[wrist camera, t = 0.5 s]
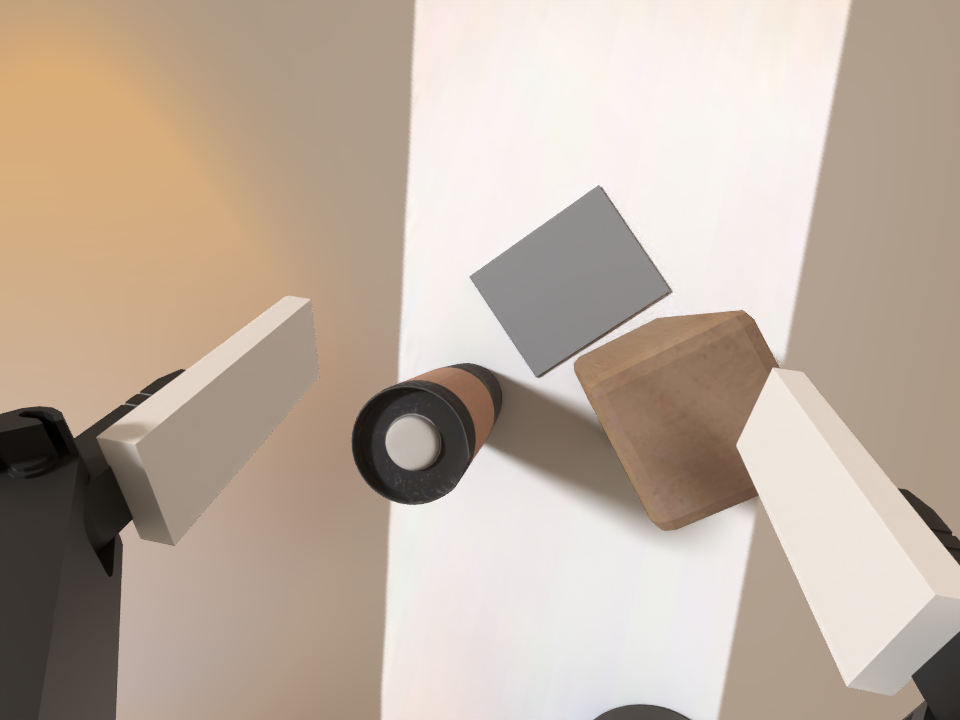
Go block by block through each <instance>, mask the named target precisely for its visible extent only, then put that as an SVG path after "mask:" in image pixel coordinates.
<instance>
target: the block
mask: <svg viewBox="0 0 960 720" xmlns="http://www.w3.org/2000/svg"><path fill="white" fill-rule="evenodd" d="M772 368H779V366H778V364H777V362H776V360H775V359H774V357H773V355H772V353H771V351H770V349H769V347H768V345H767V343H766V341H765V339H764V338H763V336H762V334H761V332H760V330H759V328H758V326H757V324H756V322H755V320H754V319H753V318H752V317H751V316H749V315H748V314H747V313H746V312H744V311H743V310H740V311H729V312H718V313H707V314H696V315H686V316H675V317H664V318H657V319H655V320H653V321H651V322H649V323H647V324H645V325H643V326H641V327H639V328H637V329H635V330H633V331H631V332H629V333H627V334H625V335H623V336H621V337H619V338H617V339H615V340H613V341H611V342H609V343H607V344H605V345H603V346H601V347H599V348H597V349H595V350H593V351H591V352H589V353H587V354H585V355H583V356H581V357H579V358H578V359H577V360H576V361H575V363H574V371H575V373H576V375H577V377H578V379H579V381H580V383H581V385H582V388H583V390H584V392H585V394H586V396H587V398H588V400H589V402H590V404H591V406H592V407H593V409H594V411H595V413H596V415H597V417H598V419H599V421H600V423H601V425H602V427H603V429H604V431H605V432H606V434H607V436H608V438H609V440H610V442H611V444H612V446H613V448H614V450H615V452H616V454H617V456H618V458H619V459H620V461H621V463H622V465H623V467H624V469H625V471H626V473H627V475H628V477H629V479H630V481H631V483H632V485H633V486H634V488H635V490H636V492H637V494H638V496H639V498H640V500H641V502H642V504H643V506H644V508H645V510H646V511H647V513H648V515H649V517H650V519H651V521H652V522H653V523H655V524H656V525H657V526H658V527H659V528H660V529H662V530H664V531H668V530H677V529H679V528H682V527H684V526H686V525H689V524H691V523H694V522H696V521H698V520H701V519H703V518H706V517H708V516H710V515H713V514H715V513H718V512H720V511H722V510H725V509H727V508H730V507H732V506H734V505H737V504H739V503H742V502H744V501H746V500H749V499H751V498H754V497H756V496H758V495H759V494H758V492H757V490H756V488H755V486H754V483H753V481H752V479H751V477H750V475H749V473H748V470H747V468H746V466H745V464H744V462H743V459H742V457H741V455H740V453H739V451H738V449H737V446H736V444H737V442H738V440H739V438H740V436H741V434H742V432H743V429H744V427H745V425H746V423H747V421H748V419H749V417H750V415H751V413H752V410H753V408H754V406H755V404H756V402H757V400H758V398H759V396H760V394H761V391H762V389H763V387H764V385H765V383H766V381H767V379H768V377H769V375H770V372H771V370H772Z"/></svg>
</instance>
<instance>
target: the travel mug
mask: <svg viewBox="0 0 960 720" xmlns="http://www.w3.org/2000/svg"><path fill="white" fill-rule="evenodd" d="M501 404H502V393H501V389H500V386H499V383H498V381H497V380H496V378H495V377H494V376H493V375H492V374H491V373H490V372H489V371H488V370H487V369H485V368H483V367H481V366H479V365H476V364H470V363H463V364H456V365H452V366H447V367H443V368H439V369H435V370H432V371H430V372H427V373H425V374H422V375H419V376H417V377H414V378H412V379H409V380H407V381H404V382H402V383H399V384H396V385H394V386H391V387H389V388H387V389H384V390H382V391H381V392H379V393H378V394H376V395H375V396H373V397H372V398H371V399H370V400H369V401H368V402H367V403H366V404H365V405H364V407H363V408H362V410H361V411H360V412H359V414H358V417H357V418H356V421H355V424H354V427H353V432H352V452H353V457H354V461H355V464H356V466H357V468H358V470H359V472H360V474H361V476H362V477H363V478H364V480H365V481H366V482H367V484H368V485H369V486H370V487H371V488H372V489H373V490H375V491H376V492H377V493H378V494H380V495H382V496H383V497H385V498H387V499H389V500H391V501H394V502H397V503H402V504H409V505H417V504H424V503H429V502H432V501H434V500H437V499H439V498H441V497H443V496H445V495H446V494H448V493H449V492H451V491H452V490H453V489H454V488H455V487H456V485H457V484H458V482H459V481H460V479H461V478H462V476H463V475H464V473H465V472H466V470H467V468H468V467H469V465H470V464H471V462H472V461H473V459H474V458H475V456H476V455H477V453H478V452H479V450H480V449H481V447H482V445H483V444H484V442H485V441H486V439H487V438H488V436H489V434H490V432H491V430H492V428H493V426H494V423H495V421H496V419H497V417H498V414H499V412H500V409H501Z"/></svg>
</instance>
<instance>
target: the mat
mask: <svg viewBox="0 0 960 720" xmlns="http://www.w3.org/2000/svg"><path fill="white" fill-rule="evenodd" d="M470 279H471V280H472V282H473V283H474V285H475V286H476V288H477V289H478V291H479V292H480V294H481V295H482V297H483V298H484V300H485V301H486V303H487V304H488V306H489V307H490V309H491V310H492V312H493V313H494V315H495V316H496V318H497V319H498V321H499V322H500V324H501V325H502V327H503V328H504V330H505V331H506V333H507V334H508V336H509V337H510V339H511V340H512V342H513V343H514V345H515V346H516V348H517V349H518V351H519V352H520V354H521V355H522V357H523V358H524V360H525V361H526V363H527V364H528V366H529V367H530V369H531V370H532V372H533V373H534V375H535V376H536V377H537V376H539V375H540V374H542V373H543V372H545V371H546V370H548V369H549V368H551V367H552V366H554V365H556V364H557V363H559V362H560V361H562V360H563V359H565V358H566V357H568V356H569V355H571V354H573V353H574V352H576V351H577V350H579V349H580V348H582V347H583V346H585V345H587V344H588V343H590V342H591V341H593V340H594V339H596V338H597V337H599V336H600V335H602V334H604V333H605V332H607V331H608V330H610V329H611V328H613V327H614V326H616V325H618V324H619V323H621V322H622V321H624V320H625V319H627V318H628V317H630V316H631V315H633V314H635V313H636V312H638V311H639V310H641V309H642V308H644V307H645V306H647V305H648V304H650V303H652V302H653V301H655V300H656V299H658V298H659V297H661V296H662V295H664V294H666V293H667V292H669V291H670V289H669V288H668V286H667V285H666V283H665V282H664V280H663V279H662V277H661V276H660V274H659V273H658V272H657V270H656V269H655V267H654V266H653V264H652V263H651V261H650V260H649V258H648V257H647V255H646V254H645V252H644V251H643V249H642V248H641V246H640V245H639V244H638V242H637V241H636V239H635V238H634V236H633V235H632V233H631V232H630V230H629V229H628V227H627V226H626V224H625V223H624V221H623V220H622V219H621V217H620V216H619V214H618V213H617V211H616V210H615V208H614V207H613V205H612V204H611V202H610V201H609V199H608V198H607V196H606V195H605V193H604V192H603V191H602V189H601V188H600V186H599V185H598V186H597V187H595V188H594V189H593V190H591V191H590V192H588V193H587V194H586V195H584V196H583V197H581V198H580V199H578V200H577V201H576V202H574V203H573V204H571V205H570V206H569V207H567V208H566V209H564V210H563V211H562V212H560V213H559V214H557V215H556V216H554V217H553V218H552V219H550V220H549V221H547V222H546V223H545V224H543V225H542V226H540V227H539V228H537V229H536V230H535V231H533V232H532V233H530V234H529V235H528V236H526V237H525V238H523V239H522V240H521V241H519V242H518V243H516V244H515V245H513V246H512V247H511V248H509V249H508V250H506V251H505V252H504V253H502V254H501V255H499V256H498V257H496V258H495V259H494V260H492V261H491V262H489V263H488V264H487V265H485V266H484V267H482V268H481V269H480V270H478V271H477V272H475V273H474V274H472V275H471V276H470Z"/></svg>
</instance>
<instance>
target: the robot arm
mask: <svg viewBox="0 0 960 720" xmlns="http://www.w3.org/2000/svg"><path fill="white" fill-rule="evenodd" d="M319 377H320V374H319V365H318V356H317V348H316V339H315V330H314V321H313V312H312V304H311V299H307V298H299V297H293V296H286V297H284V298H283V299H281V300H280V301H279V302H277V303H276V304H275V305H273V306H272V307H271V308H269V309H268V310H267V311H265V312H264V313H263V314H261V315H260V316H259V317H257V318H256V319H255V320H253V321H252V322H250V323H249V324H248V325H246V326H245V327H244V328H242V329H241V330H240V331H238V332H237V333H236V334H234V335H233V336H232V337H230V338H229V339H228V340H226V341H225V342H224V343H222V344H221V345H220V346H218V347H217V348H215V349H214V350H213V351H212V352H210V353H209V354H207V355H206V356H205V357H203V358H202V359H201V360H199V361H198V362H197V363H195V364H194V365H193V366H191V367H190V368H189V369H187V370H183V369H180V370H178V371H175V372H173V373H171V374H168V375H166V376H164V377H161V378H159V379H157V380H156V381H154V382H153V383H152V384H150V385H149V386H147V387H146V388H144V389H143V390H142V391H141V392H140V394H136V395H135V396H133V397H132V398H130V399H129V400H128V401H126V403H125V405H121V406H119V407H118V408H117V409H115V410H114V411H112V412H111V413H109V414H108V415H107V416H105V417H104V418H102V419H101V420H100V421H98V422H97V423H95V424H94V425H92V426H91V427H90V428H88V429H87V430H85V431H84V432H83V433H81V434H80V435H78V436H77V437H76V438H73V436H72V434H71V431H70V430H69V427H68V425H67V423H66V421H65V419H64V417H63V414H62V412H60V411H58V410H56V409H54V408H51V407H41V406H39V407H29V408H21V409H17V410H14V411H10V412H6V413H2V414H0V720H116V698H117V673H118V651H119V625H120V600H121V577H122V576H121V575H122V552H123V544H122V541H121V537H120V535H119V532H120V531H121V530H122V529H123V528H124V527H125V526H126V525H127V524H128V523H129V522H130V521H131V520H133V522H134V524H135V527H136V529H137V531H138V533H139V536H140V538H141V539H144V540H149V541H154V542H159V543H164V544H168V545H173V546H175V545H176V544H177V542H178V541H179V540H180V539H181V538H182V537H183V535H184V534H185V533H186V532H187V531H188V530H189V528H190V527H191V526H192V525H193V524H194V523H195V521H196V520H197V519H198V518H199V517H200V516H201V514H202V513H203V512H204V511H205V510H206V509H207V507H208V506H209V505H210V504H211V503H212V502H213V500H214V499H215V498H216V497H217V496H218V495H219V493H220V492H221V491H222V490H223V489H224V488H225V486H226V485H227V484H228V483H229V482H230V480H231V479H232V478H233V477H234V476H235V475H236V474H237V473H238V471H239V470H240V469H241V468H242V467H243V465H244V464H245V463H246V462H247V461H248V460H249V458H250V457H251V456H252V455H253V454H254V453H255V452H256V450H257V449H258V448H259V447H260V446H261V444H262V443H263V442H264V441H265V440H266V439H267V438H268V436H269V435H270V434H271V433H272V432H273V431H274V429H275V428H276V427H277V426H278V425H279V424H280V422H281V421H282V420H283V419H284V418H285V417H286V415H287V414H288V413H289V412H290V411H291V409H293V407H294V406H295V405H296V404H297V402H299V400H300V399H301V398H302V397H303V396H304V395H305V393H306V392H307V391H308V390H309V388H310V387H311V386H312V385H313V384H314V383H315V382H316V381H317V379H318V378H319ZM736 446H737V449H738V451H739V453H740V455H741V457H742V459H743V462H744V464H745V466H746V468H747V470H748V473H749V475H750V477H751V479H752V481H753V483H754V486H755V488H756V490H757V492H758V494H759V496H760V499H761V501H762V503H763V505H764V507H765V509H766V512H767V514H768V516H769V518H770V520H771V523H772V525H773V527H774V529H775V531H776V534H777V536H778V538H779V540H780V542H781V544H782V546H783V549H784V551H785V553H786V555H787V557H788V559H789V562H790V564H791V566H792V568H793V570H794V573H795V575H796V577H797V579H798V581H799V583H800V586H801V588H802V590H803V592H804V594H805V597H806V599H807V601H808V603H809V605H810V608H811V610H812V612H813V614H814V616H815V618H816V621H817V623H818V625H819V627H820V629H821V631H822V634H823V636H824V638H825V640H826V642H827V645H828V647H829V649H830V651H831V653H832V655H833V657H834V660H835V662H836V664H837V666H838V669H839V671H840V673H841V675H842V677H843V679H844V682H845V684H846V686H847V687H852V688H856V689H861V690H866V691H870V692H876V693H880V694H885V695H890V696H893V695H894V694H895V693H896V692H898V691H899V690H900V689H901V688H902V687H903V686H904V685H905V684H906V683H907V682H908V681H909V680H911V679H912V678H913V680H914V682H915V684H916V685H917V687H918V689H919V691H920V692H921V694H922V696H923V698H924V699H925V701H924V702H923V703H921V704H920V705H919V706H918V707H917V708H915V709H914V710H913V711H912V712H911V713H910V714H908V715H907V716H906V717H905V718H904V719H903V720H960V541H959V540H958V538H957V537H956V536H952V531H951V530H950V529H949V528H948V527H947V525H946V524H945V523H944V522H943V521H942V519H941V518H940V517H939V516H938V515H937V514H936V512H935V511H934V510H933V509H931V508H930V507H929V506H927V505H926V504H925V503H924V502H922V501H921V500H920V499H918V498H917V497H916V496H915V495H913V494H912V493H911V492H909V491H908V490H905V489H899V488H896V486H895V485H894V484H893V483H892V481H891V480H890V479H889V478H888V476H887V475H886V474H885V473H884V472H883V470H882V469H881V468H880V467H879V465H878V464H877V463H876V462H875V460H874V459H873V458H872V457H871V456H870V454H869V453H868V452H867V451H866V450H865V448H864V447H863V446H862V444H861V443H860V442H859V441H858V439H857V438H856V437H855V436H854V434H853V433H852V432H851V431H850V430H849V428H848V427H847V426H846V425H845V424H844V422H843V421H842V420H841V418H840V417H839V416H838V415H837V414H836V412H835V411H834V410H833V409H832V407H831V406H830V405H829V404H828V403H827V401H826V400H825V399H824V397H823V396H822V395H821V394H820V392H819V391H818V390H817V389H816V388H815V386H814V385H813V384H812V383H811V382H810V380H809V379H808V378H807V376H806V375H805V374H804V373H803V372H800V371H794V370H787V369H780V368H772V370H771V372H770V375H769V377H768V379H767V381H766V383H765V385H764V387H763V389H762V391H761V394H760V396H759V398H758V400H757V402H756V404H755V406H754V408H753V410H752V413H751V415H750V417H749V419H748V421H747V423H746V425H745V427H744V429H743V432H742V434H741V436H740V438H739V440H738V442H737V444H736ZM594 720H688V719H687V718H685V717H683V716H681V715H680V714H677V713H675V712H673V711H670V710H668V709H664V708H661V707H656V706H650V705H628V706H622V707H618V708H615V709H612V710H610V711H607V712H605V713H603V714H601V715H600V716H598V717H597V718H595V719H594Z"/></svg>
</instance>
